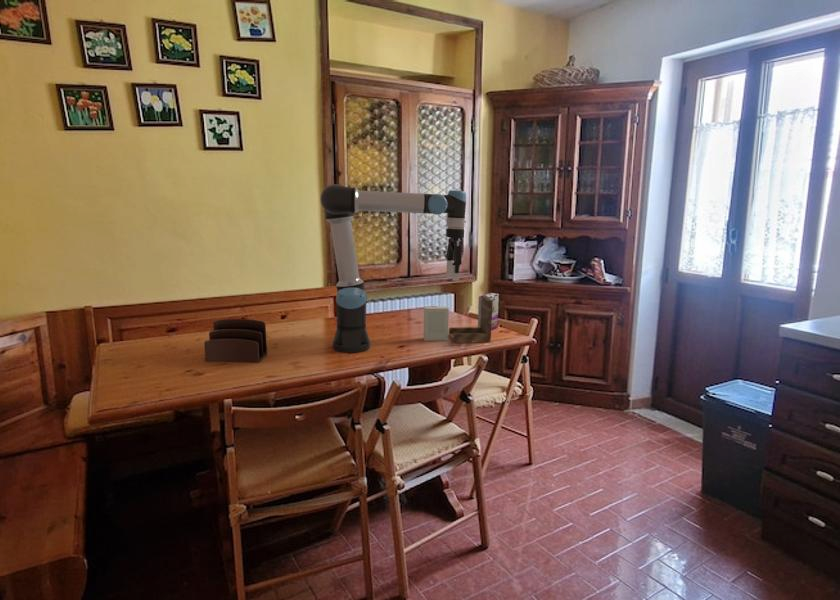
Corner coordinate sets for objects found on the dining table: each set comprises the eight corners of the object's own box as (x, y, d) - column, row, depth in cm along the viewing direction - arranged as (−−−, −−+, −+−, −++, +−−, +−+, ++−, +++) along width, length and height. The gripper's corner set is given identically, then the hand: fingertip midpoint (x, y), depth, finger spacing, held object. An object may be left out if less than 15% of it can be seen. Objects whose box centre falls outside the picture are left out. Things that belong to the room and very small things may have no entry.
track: (453, 342, 215) (455, 300, 211) (449, 335, 226) (450, 295, 222) (490, 341, 217) (492, 300, 213) (484, 334, 228) (486, 295, 224)
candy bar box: (488, 326, 243) (490, 292, 240) (497, 327, 240) (499, 293, 237) (476, 330, 235) (478, 295, 231) (486, 332, 232) (487, 297, 228)
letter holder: (215, 353, 194) (213, 317, 191) (267, 354, 194) (266, 318, 191) (204, 361, 185) (202, 324, 182) (259, 363, 184) (257, 325, 182)
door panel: (424, 340, 217) (425, 308, 214) (423, 337, 221) (424, 306, 218) (447, 340, 218) (448, 308, 215) (446, 337, 222) (447, 306, 219)
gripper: (471, 230, 201) (467, 283, 205) (457, 226, 225) (454, 273, 229) (452, 229, 200) (449, 282, 204) (441, 225, 224) (438, 273, 228)
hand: (452, 278), depth 217 cm, fingers open, 13 cm apart
